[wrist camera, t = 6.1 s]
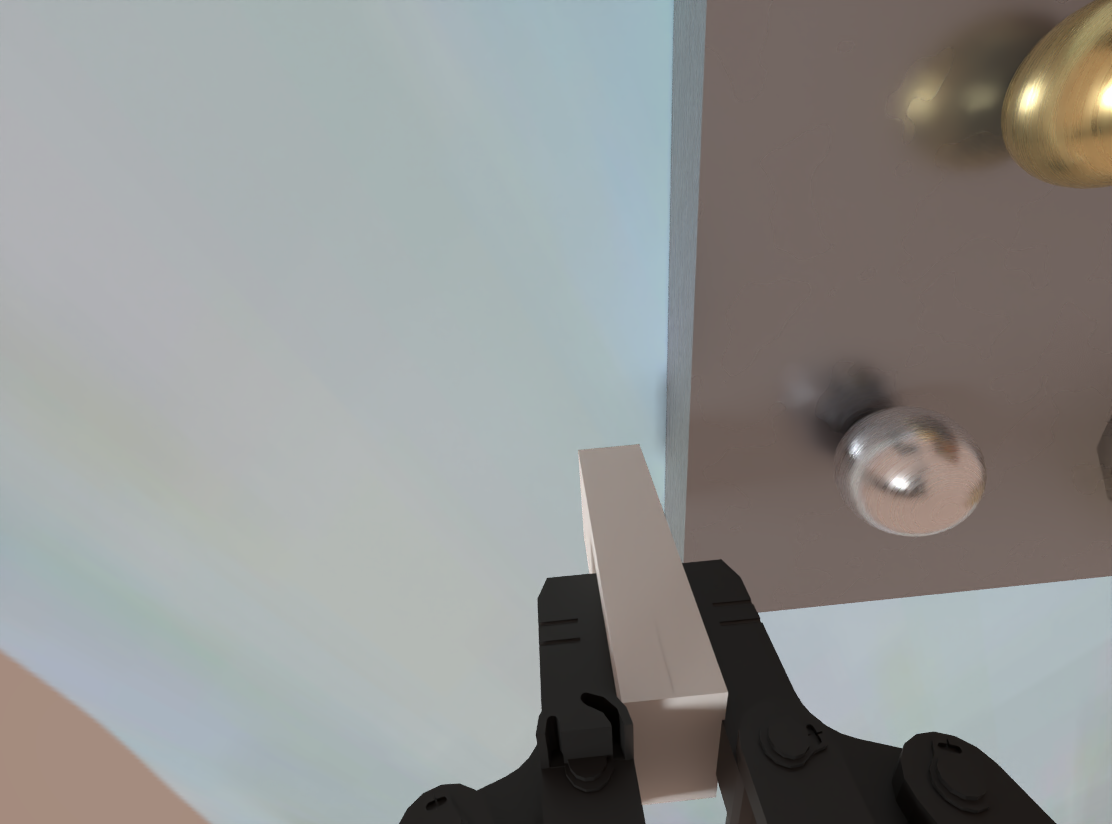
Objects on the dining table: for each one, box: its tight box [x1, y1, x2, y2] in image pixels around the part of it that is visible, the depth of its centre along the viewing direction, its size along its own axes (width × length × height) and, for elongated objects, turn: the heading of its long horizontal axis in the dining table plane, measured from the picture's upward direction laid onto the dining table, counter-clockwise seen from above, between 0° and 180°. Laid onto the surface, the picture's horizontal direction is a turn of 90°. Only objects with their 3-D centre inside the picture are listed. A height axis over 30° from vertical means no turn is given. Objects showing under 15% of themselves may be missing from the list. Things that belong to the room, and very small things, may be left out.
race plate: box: [665, 0, 1112, 613], centre depth 15 cm, size 22×18×2 cm
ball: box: [833, 406, 987, 537], centre depth 14 cm, size 3×3×3 cm
